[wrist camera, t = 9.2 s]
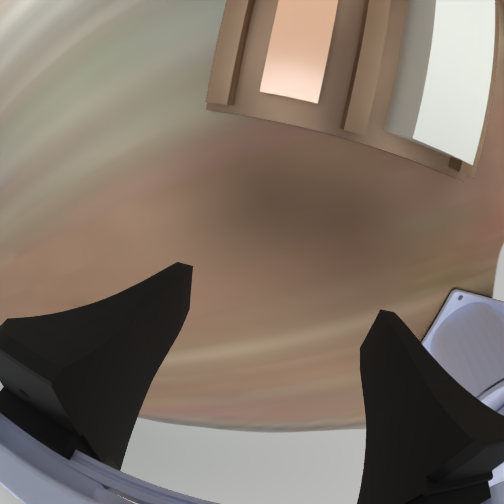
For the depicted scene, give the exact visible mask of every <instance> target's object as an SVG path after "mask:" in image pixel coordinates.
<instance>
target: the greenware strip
mask: <svg viewBox="0 0 504 504" xmlns="http://www.w3.org/2000/svg"><path fill="white" fill-rule="evenodd" d="M494 40H495V0H407V7H406V15H405V23H404V30H403V36H402V43H401V49H400V55H399V60H398V66H397V71H396V76H395V81H394V86H393V91H392V95H391V100H390V105H389V109H388V113H387V117H386V122H385V126H384V130H383V131H385V132H388V133H391V134H394V135H397V136H399V137H402V138H405V139H407V140H410V141H412V142H415V143H417V144H420V145H422V146H425V147H427V148H430V149H432V150H435V151H437V152H440V153H443V154H445V155H448V156H451V157H453V158H456V159H458V160H461V161H463V162H466V163H468V164H471V165H473V162H474V159H475V155H476V152H477V148H478V144H479V140H480V136H481V131H482V127H483V122H484V117H485V112H486V107H487V101H488V95H489V89H490V82H491V74H492V66H493V55H494Z"/></svg>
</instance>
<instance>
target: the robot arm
mask: <svg viewBox="0 0 504 504" xmlns="http://www.w3.org/2000/svg"><path fill="white" fill-rule="evenodd" d="M192 271H193V266H191V265H187V264H183V263H179V262H177V263H175V264H173V265H171V266H169V267H168V268H166V269H164V270H162V271H160V272H159V273H157V274H155V275H153V276H151V277H150V278H148V279H146V280H144V281H142V282H140V283H139V284H136V285H134V286H132V287H130V288H128V289H126V290H124V291H122V292H120V293H118V294H116V295H113V296H111V297H108V298H106V299H103V300H100V301H98V302H95V303H92V304H89V305H86V306H82V307H78V308H75V309H71V310H68V311H64V312H59V313H54V314H48V315H42V316H35V317H24V318H10V319H7V320H6V321H5V322H4V323H3V324H2V325H1V326H0V381H1V383H2V385H3V386H4V387H3V389H2V390H1V391H0V484H1V485H2V486H3V487H4V488H6V489H7V490H8V491H9V492H10V493H12V495H14V496H15V497H16V498H17V499H18V500H20V501H21V502H22V503H24V504H134V503H132V502H130V501H128V500H131V501H133V502H136V503H139V504H219V503H215V502H210V501H206V500H202V499H198V498H195V497H191V496H188V495H184V494H181V493H178V492H174V491H171V490H168V489H165V488H162V487H159V486H156V485H154V484H151V483H148V482H145V481H143V480H140V479H138V478H135V477H133V476H130V475H128V474H126V473H123V472H121V471H120V469H121V466H122V462H123V459H124V456H125V452H126V449H127V446H128V442H129V439H130V437H131V434H132V431H133V428H134V425H135V422H136V419H137V417H138V414H139V411H140V409H141V406H142V404H143V401H144V399H145V396H146V394H147V391H148V389H149V387H150V384H151V382H152V380H153V378H154V376H155V374H156V372H157V370H158V369H159V367H160V365H161V364H162V362H163V360H164V358H165V357H166V355H167V353H168V351H169V350H170V348H171V346H172V345H173V343H174V341H175V339H176V338H177V336H178V334H179V332H180V331H181V328H182V326H183V324H184V321H185V319H186V316H187V314H188V311H189V308H190V294H191V282H192ZM460 295H461V296H460ZM459 296H460V297H459ZM458 297H459V298H458ZM360 372H361V381H362V389H363V396H364V405H365V413H366V450H365V461H364V469H363V476H362V483H361V489H360V493H359V498H358V502H357V504H504V302H503V301H500V300H496V299H492V298H488V297H485V296H481V295H477V294H473V293H470V292H466V291H462V290H458V289H455V290H453V291H452V292H451V293H450V295H449V297H448V299H447V301H446V302H445V304H444V306H443V308H442V310H441V311H440V313H439V315H438V316H437V318H436V320H435V321H434V323H433V325H432V326H431V328H430V330H429V331H428V333H427V335H426V336H425V338H424V339H423V341H422V342H420V341H419V340H418V339H417V338H416V336H415V335H414V334H413V333H412V332H411V330H410V329H409V328H408V327H407V326H406V324H405V323H404V322H403V321H402V320H401V319H400V318H399V317H398V316H397V315H396V314H395V313H394V312H390V311H385V310H380V311H379V313H378V315H377V317H376V319H375V321H374V323H373V325H372V327H371V329H370V331H369V333H368V334H367V336H366V338H365V340H364V342H363V344H362V345H361V347H360ZM114 493H115V494H114ZM116 494H117V495H116ZM118 495H119V496H118ZM120 496H121V497H120ZM122 497H124V498H126V499H128V500H126V499H124V498H122Z"/></svg>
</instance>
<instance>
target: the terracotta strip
mask: <svg viewBox="0 0 504 504" xmlns="http://www.w3.org/2000/svg"><path fill="white" fill-rule="evenodd" d="M337 5H338V0H279V1H278V6H277V10H276V15H275V19H274V24H273V29H272V33H271V38H270V43H269V48H268V52H267V57H266V62H265V67H264V72H263V77H262V82H261V87H260V92H261V93H263V94H267V95H272V96H277V97H283V98H287V99H292V100H297V101H301V102H306V103H310V104H314V105H316V104H318V100H319V96H320V91H321V86H322V81H323V77H324V72H325V67H326V62H327V57H328V52H329V47H330V42H331V37H332V31H333V26H334V21H335V16H336V10H337Z"/></svg>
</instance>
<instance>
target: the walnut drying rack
mask: <svg viewBox="0 0 504 504" xmlns="http://www.w3.org/2000/svg"><path fill="white" fill-rule="evenodd" d="M278 1H279V0H227V1H226V5H225V9H224V14H223V18H222V22H221V27H220V31H219V36H218V40H217V45H216V50H215V55H214V60H213V65H212V70H211V75H210V81H209V86H208V92H207V97H206V102H207V108H206V110H211V111H219V112H225V113H232V114H238V115H244V116H250V117H256V118H261V119H266V120H271V121H276V122H281V123H286V124H290V125H295V126H299V127H303V128H308V129H312V130H316V131H320V132H324V133H327V134H331V135H335V136H339V137H342V138H346V139H349V140H352V141H356V142H359V143H362V144H366V145H369V146H372V147H375V148H378V149H381V150H384V151H387V152H390V153H393V154H396V155H399V156H402V157H404V158H407V159H410V160H412V161H415V162H418V163H420V164H423V165H425V166H428V167H430V168H433V169H435V170H438V171H440V172H443V173H445V174H447V175H450V176H452V177H454V178H457V179H459V180H461V181H463V182H464V181H465V178H466V175H467V176H469V177H471V178H473V179H474V176H475V173H476V169H477V166H478V162H479V159H480V155H481V151H482V147H483V143H484V139H485V135H486V130H487V125H488V121H489V116H490V110H491V105H492V99H493V92H494V85H495V77H496V68H497V57H498V40H499V4H498V3H496V2H495V40H494V55H493V66H492V74H491V82H490V89H489V95H488V101H487V107H486V112H485V117H484V122H483V127H482V131H481V136H480V140H479V144H478V148H477V152H476V155H475V159H474V162H473V165H471V164H468V163H466V162H463V161H461V160H458V159H456V158H453V157H451V156H448V155H445V154H443V153H440V152H437V151H435V150H432V149H430V148H427V147H425V146H422V145H420V144H417V143H415V142H412V141H410V140H407V139H405V138H402V137H399V136H397V135H394V134H391V133H388V132H385V131H383V130H384V126H385V122H386V117H387V113H388V109H389V105H390V100H391V95H392V91H393V86H394V81H395V76H396V71H397V66H398V60H399V55H400V49H401V43H402V36H403V30H404V23H405V15H406V7H407V0H338V5H337V10H336V16H335V21H334V26H333V31H332V37H331V42H330V47H329V52H328V57H327V62H326V67H325V72H324V77H323V81H322V86H321V91H320V96H319V100H318V104H316V105H314V104H310V103H306V102H301V101H297V100H292V99H287V98H283V97H277V96H272V95H267V94H263V93H261V92H260V87H261V82H262V77H263V72H264V67H265V62H266V57H267V52H268V48H269V43H270V38H271V33H272V29H273V24H274V19H275V15H276V10H277V6H278Z"/></svg>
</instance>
